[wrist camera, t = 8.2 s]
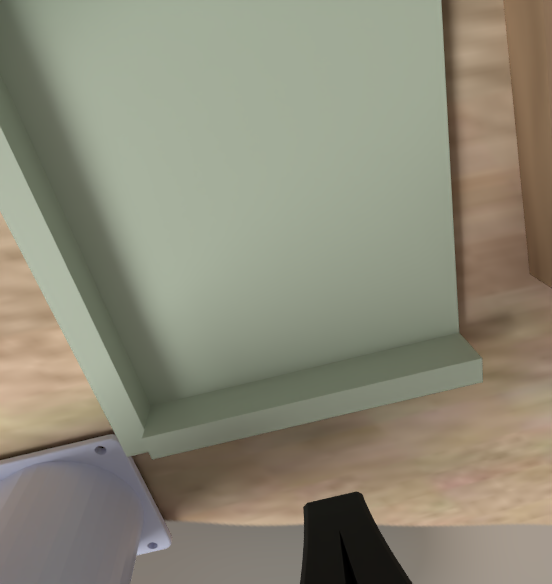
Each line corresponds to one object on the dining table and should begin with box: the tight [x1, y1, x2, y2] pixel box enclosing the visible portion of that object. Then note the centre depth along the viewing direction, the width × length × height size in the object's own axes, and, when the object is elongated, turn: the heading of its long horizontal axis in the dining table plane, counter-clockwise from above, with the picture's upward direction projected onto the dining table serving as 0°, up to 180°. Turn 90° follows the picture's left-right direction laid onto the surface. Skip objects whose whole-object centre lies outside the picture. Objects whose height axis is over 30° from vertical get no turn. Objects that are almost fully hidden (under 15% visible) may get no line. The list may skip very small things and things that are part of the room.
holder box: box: [0, 0, 483, 460], centre depth 15 cm, size 15×18×2 cm
